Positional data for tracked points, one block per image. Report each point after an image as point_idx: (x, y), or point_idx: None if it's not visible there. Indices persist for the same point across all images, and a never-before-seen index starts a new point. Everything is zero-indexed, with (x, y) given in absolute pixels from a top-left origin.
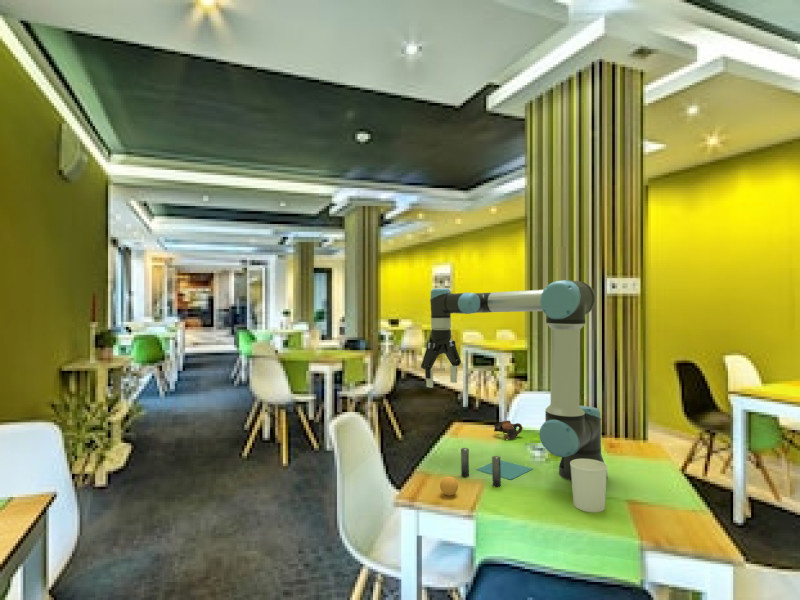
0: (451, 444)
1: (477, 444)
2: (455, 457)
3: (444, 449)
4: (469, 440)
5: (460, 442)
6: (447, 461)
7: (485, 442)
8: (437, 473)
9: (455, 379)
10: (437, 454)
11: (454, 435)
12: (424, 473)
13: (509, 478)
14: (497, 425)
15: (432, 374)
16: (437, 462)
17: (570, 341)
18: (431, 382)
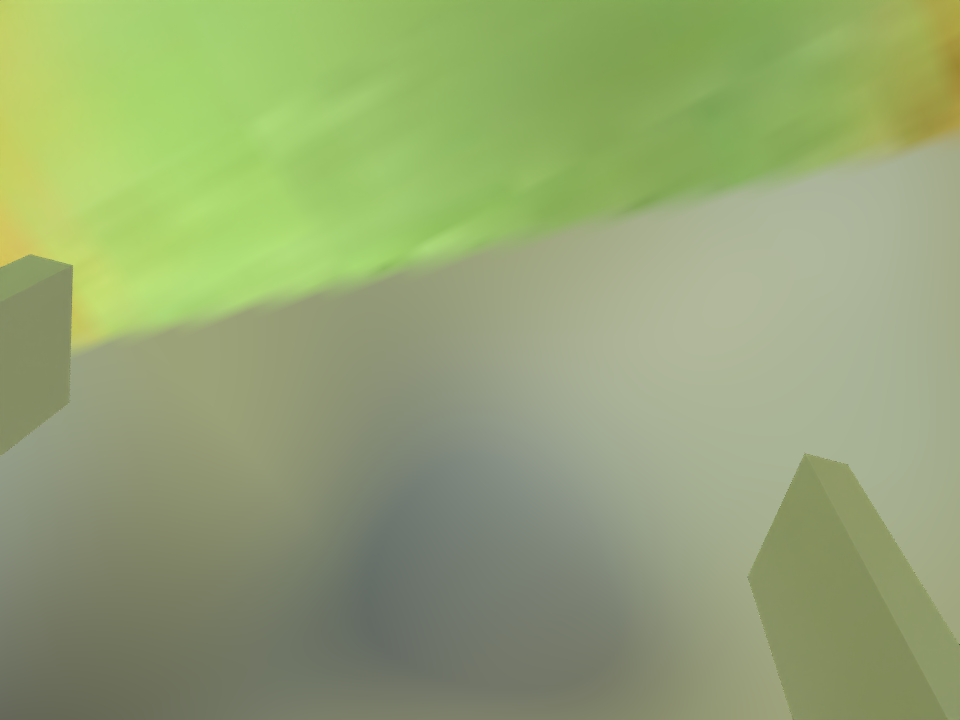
0: (231, 241)
1: (102, 52)
2: (497, 62)
3: (368, 232)
4: (55, 161)
5: (145, 202)
6: (616, 74)
7: (12, 14)
8: (917, 8)
9: (23, 294)
10: (502, 223)
11: None
12: (951, 101)
13: None
14: None
15: (933, 667)
16: (673, 134)
17: None
18: (883, 537)
